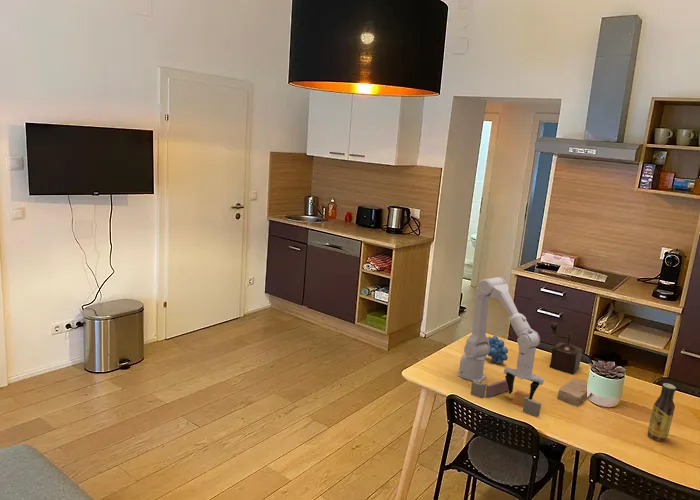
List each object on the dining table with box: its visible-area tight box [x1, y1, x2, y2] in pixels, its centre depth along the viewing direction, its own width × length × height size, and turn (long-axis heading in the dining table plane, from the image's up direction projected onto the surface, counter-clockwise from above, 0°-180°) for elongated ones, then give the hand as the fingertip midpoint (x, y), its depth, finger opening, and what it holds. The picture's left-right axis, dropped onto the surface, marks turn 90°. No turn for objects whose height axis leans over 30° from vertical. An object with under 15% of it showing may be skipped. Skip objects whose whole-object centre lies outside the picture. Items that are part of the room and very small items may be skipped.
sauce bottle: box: [647, 382, 677, 442], centre depth 187 cm, size 6×6×20 cm
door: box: [485, 379, 509, 398], centre depth 214 cm, size 14×2×4 cm, turn 126°
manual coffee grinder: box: [549, 322, 583, 375], centre depth 243 cm, size 16×11×18 cm
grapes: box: [486, 335, 509, 365], centre depth 242 cm, size 12×7×12 cm, turn 44°
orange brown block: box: [512, 389, 530, 406], centre depth 210 cm, size 4×9×4 cm, turn 146°
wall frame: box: [470, 381, 542, 418], centre depth 205 cm, size 26×2×6 cm, turn 56°
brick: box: [556, 377, 588, 407], centre depth 216 cm, size 17×8×5 cm, turn 137°
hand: (520, 395), depth 208 cm, fingers open, 7 cm apart
